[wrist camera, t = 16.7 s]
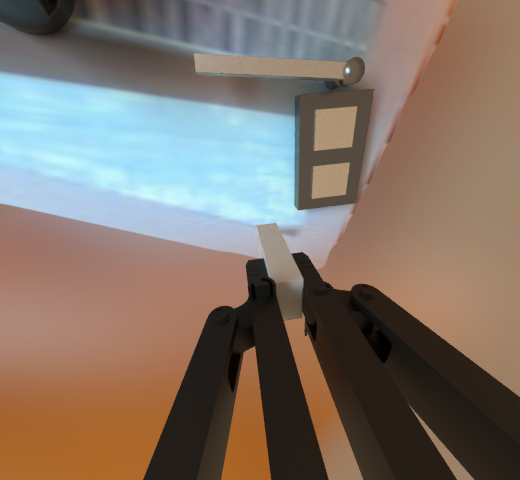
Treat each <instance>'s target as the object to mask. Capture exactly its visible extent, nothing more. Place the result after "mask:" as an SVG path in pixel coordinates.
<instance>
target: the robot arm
mask: <svg viewBox="0 0 520 480" xmlns="http://www.w3.org/2000/svg"><path fill="white" fill-rule="evenodd" d="M74 1H75V0H0V21H1V22H3V23H5V24H7V25H9V26H12V27H14V28H16V29H18V30H21V31H24V32H27V33H32V34H48V33H52V32H55V31H57V30H58V29H60V28H61V27H62V26H63V25H64V24H65V23H66V22H67V21H68V19H69V17H70V15H71V13H72V10H73V6H74ZM257 235H258V246H259V256H260V259H255V260H249V261H248V262H247V264H246V271H247V280H248V292H249V297H248V300H247V301H246V302H245V303H244V304H243V305H241V306H239V307H237V308H235V309H233V308H232V307H229V306H221V307H218V308H216V309H214V310H213V311H212V312H211V313H210V314H209V316H208V318H207V320H206V323H205V326H204V328H203V331H202V333H201V335H200V338H199V340H198V343H197V346H196V348H195V351H194V353H193V356H192V358H191V361H190V363H189V366H188V369H187V371H186V373H185V376H184V378H183V381H182V383H181V386H180V389H179V391H178V393H177V396H176V399H175V401H174V404H173V406H172V409H171V411H170V414H169V416H168V419H167V421H166V424H165V426H164V429H163V431H162V434H161V436H160V439H159V441H158V444H157V446H156V449H155V451H154V454H153V457H152V459H151V461H150V464H149V466H148V469H147V472H146V474H145V477H144V479H143V480H221V476H222V470H223V465H224V459H225V453H226V448H227V442H228V437H229V431H230V426H231V420H232V415H233V409H234V403H235V398H236V392H237V387H238V381H239V375H240V370H241V364H242V359H243V353H244V352H245V351H246V350H248V349H250V348H252V347H254V346H255V348H256V357H257V364H258V373H259V381H260V390H261V398H262V407H263V414H264V422H265V431H266V439H267V448H268V456H269V465H270V473H271V480H328V476H327V473H326V469H325V465H324V462H323V459H322V455H321V451H320V448H319V444H318V441H317V437H316V434H315V430H314V427H313V423H312V420H311V417H310V413H309V409H308V405H307V402H306V399H305V395H304V391H303V388H302V384H301V381H300V377H299V374H298V370H297V367H296V363H295V360H294V356H293V352H292V349H291V345H290V342H289V338H288V335H287V331H286V328H285V324H284V321H285V320H291V319H297V318H302V311H303V314H304V316H305V336H307V332H308V335H309V337H310V340H311V342H312V345H313V348H314V350H315V353H316V355H317V358H318V361H319V364H320V366H321V369H322V371H323V374H324V377H325V379H326V382H327V385H328V387H329V390H330V393H331V395H332V398H333V400H334V403H335V406H336V408H337V411H338V414H339V416H340V419H341V422H342V424H343V427H344V429H345V432H346V435H347V437H348V440H349V442H350V445H351V448H352V451H353V453H354V456H355V458H356V461H357V464H358V466H359V469H360V472H361V474H362V477H363V480H457V479H456V478H455V476H454V475H453V473H452V471H451V470H450V468H449V467H448V465H447V463H446V462H445V460H444V459H443V457H442V456H441V454H440V453H439V451H438V450H437V448H436V446H435V445H434V443H433V442H432V440H431V439H430V437H429V436H428V434H427V433H426V431H425V429H424V428H423V426H422V425H421V423H420V422H419V420H418V418H417V417H416V416H415V414H414V412H413V411H412V409H413V410H414V411H415V412H416V413H417V414H418V415H419V417H420V418H421V419H422V420H423V421H424V422H425V423H426V424H427V426H428V427H429V428H430V429H431V430H432V431H433V433H434V434H435V435H436V436H437V437H438V438H439V440H440V441H441V442H442V443H443V444H444V445H445V446H446V447H447V449H448V450H449V451H450V452H451V453H452V454H453V456H454V457H455V458H456V459H457V460H458V461H459V462H460V463H461V465H462V466H463V467H464V468H465V469H466V470H467V472H468V473H469V474H470V475H471V476H472V477H473V478H474V479H475V480H520V397H519V396H518V395H516V394H515V393H514V392H512V391H511V390H510V389H508V388H507V387H506V386H504V385H503V384H502V383H500V382H499V381H498V380H496V379H495V378H494V377H492V376H491V375H490V374H489V373H487V372H486V371H485V370H483V369H482V368H481V367H479V366H478V365H477V364H475V363H474V362H473V361H471V360H470V359H469V358H467V357H466V356H465V355H464V354H462V353H461V352H460V351H458V350H457V349H456V348H454V347H453V346H452V345H450V344H449V343H448V342H446V341H445V340H444V339H442V338H441V337H440V336H438V335H437V334H436V333H435V332H433V331H432V330H430V329H429V328H428V327H427V326H425V325H424V324H423V323H421V322H420V321H419V320H417V319H416V318H415V317H413V316H412V315H411V314H409V313H408V312H407V311H405V310H404V309H403V308H402V307H400V306H399V305H398V304H396V303H395V302H393V301H392V300H391V299H390V298H388V297H387V296H386V295H384V294H383V293H382V292H380V291H379V290H378V289H376V288H375V287H373V286H370V285H367V284H357V285H355V286H353V287H352V289H351V291H345V290H337V289H334V288H333V287H332V286H331V285H330V284H329V283H327V282H324V281H323V280H322V278H321V277H320V275H319V273H318V272H317V270H316V268H315V267H314V265H313V264H312V262H311V260H310V259H309V257H308V256H307V255H306V254H304V253H303V252H301V253H293V254H291V253H290V251H289V248H288V246H287V244H286V242H285V240H284V238H283V236H282V234H281V232H280V230H279V228H278V226H277V224H276V223H273V224H265V225H257ZM408 404H409V405H410V406H411V407H412V409H411V408H410V406H409V405H408Z"/></svg>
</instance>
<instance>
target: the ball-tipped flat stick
mask: <svg viewBox="0 0 520 480" xmlns="http://www.w3.org/2000/svg"><path fill="white" fill-rule="evenodd" d="M194 59H195V68H196V73H197V74H198V75H212V76H234V77H255V78H277V79H298V80H319V81H338V83H339V84H340V85H341V86H344V87H345V86H349V85H351V84H354V83H357V82H358V81H359V80H360V79H361V78H362V76H363V74H364V70H365V65H364V62H363V60H362V59H361V58H359V57H354V58H352V59H350V60H349V61H347V62H333V61H316V60H300V59H283V58H266V57H249V56H232V55H215V54H198V53H194Z"/></svg>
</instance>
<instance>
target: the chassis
mask: <svg viewBox="0 0 520 480" xmlns="http://www.w3.org/2000/svg"><path fill="white" fill-rule="evenodd" d="M325 85H326V87H327V88H328V89H333V88H336V87H338V86H341V85H340V84H339V83H338V81H325ZM373 91H374V89H367V90H355V91H342V92H330V93H317V94H305V95H299V96H297V97H295V207H296V208H297V209H298V210H304V209H312V208H320V207H328V206H336V205H344V204H352V203H356V197H357V191H358V185H359V178H360V172H361V166H362V160H363V153H364V147H365V141H366V135H367V128H368V122H369V116H370V110H371V103H372V97H373Z"/></svg>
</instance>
